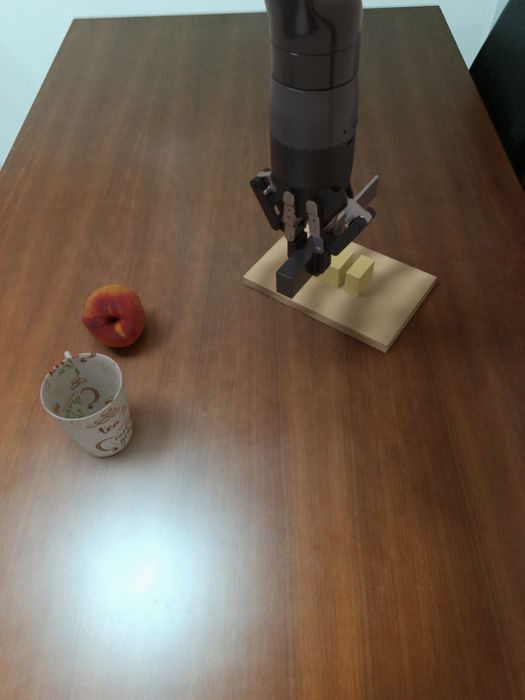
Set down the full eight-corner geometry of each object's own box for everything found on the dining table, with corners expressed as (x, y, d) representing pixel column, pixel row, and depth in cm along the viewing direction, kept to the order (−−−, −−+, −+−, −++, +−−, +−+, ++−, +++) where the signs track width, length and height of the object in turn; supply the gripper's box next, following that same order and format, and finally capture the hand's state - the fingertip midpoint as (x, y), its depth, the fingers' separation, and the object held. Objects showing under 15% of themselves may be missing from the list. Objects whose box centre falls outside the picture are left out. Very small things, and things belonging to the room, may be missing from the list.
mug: (87, 480, 63) (57, 434, 55) (46, 401, 70) (14, 350, 62) (155, 441, 66) (136, 392, 58) (109, 368, 73) (86, 316, 65)
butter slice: (372, 279, 78) (375, 260, 75) (357, 297, 76) (359, 278, 73) (359, 273, 79) (361, 254, 76) (344, 291, 77) (345, 272, 74)
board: (435, 284, 79) (437, 276, 78) (385, 353, 72) (387, 345, 71) (298, 227, 87) (298, 219, 86) (243, 284, 80) (242, 276, 79)
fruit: (83, 356, 74) (63, 315, 68) (102, 309, 79) (85, 266, 73) (142, 361, 73) (128, 320, 67) (158, 313, 78) (146, 270, 72)
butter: (352, 270, 79) (354, 251, 76) (337, 288, 77) (338, 269, 74) (315, 254, 81) (315, 235, 79) (299, 271, 79) (299, 252, 77)
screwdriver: (291, 299, 61) (291, 279, 59) (276, 292, 62) (275, 271, 59) (382, 197, 71) (385, 176, 68) (367, 192, 71) (370, 171, 69)
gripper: (222, 118, 51) (238, 263, 64) (362, 168, 45) (346, 314, 59) (271, 81, 54) (276, 225, 68) (405, 123, 49) (381, 270, 63)
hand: (309, 266), depth 63 cm, fingers closed on screwdriver, 2 cm apart
